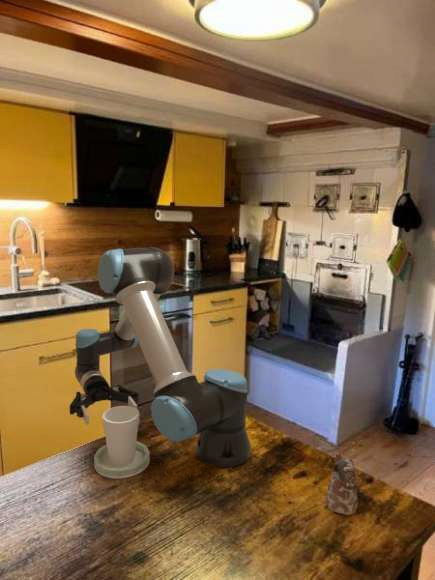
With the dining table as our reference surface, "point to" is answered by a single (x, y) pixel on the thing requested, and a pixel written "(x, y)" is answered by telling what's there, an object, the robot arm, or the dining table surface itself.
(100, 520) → the dining table surface
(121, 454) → the foam cup
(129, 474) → the ceramic saucer
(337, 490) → the figurine
